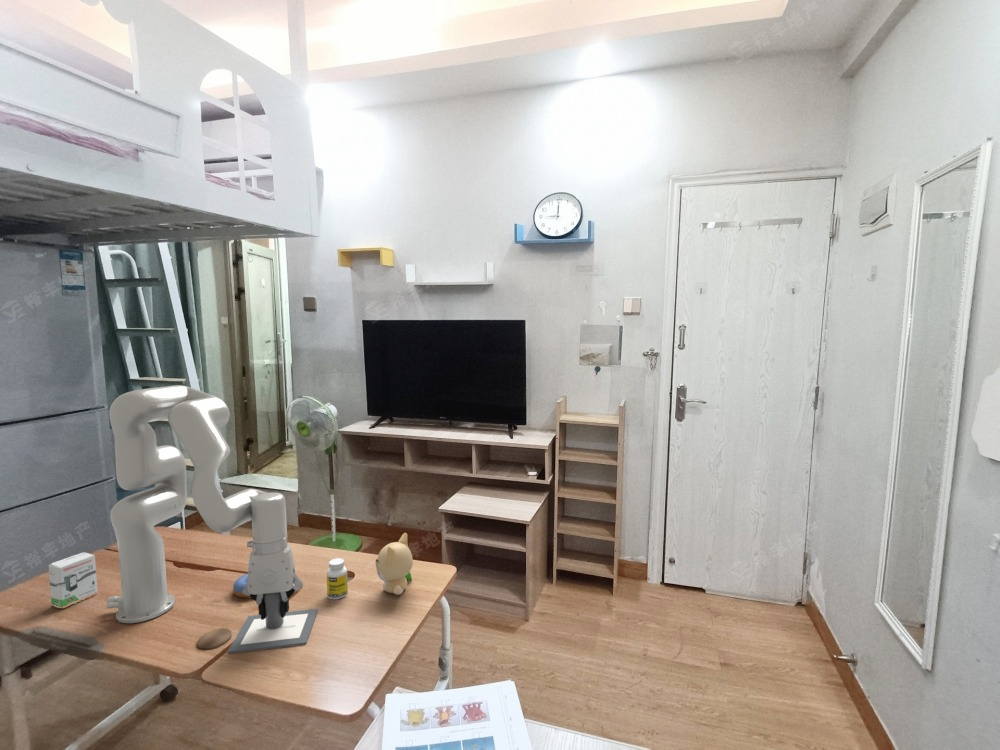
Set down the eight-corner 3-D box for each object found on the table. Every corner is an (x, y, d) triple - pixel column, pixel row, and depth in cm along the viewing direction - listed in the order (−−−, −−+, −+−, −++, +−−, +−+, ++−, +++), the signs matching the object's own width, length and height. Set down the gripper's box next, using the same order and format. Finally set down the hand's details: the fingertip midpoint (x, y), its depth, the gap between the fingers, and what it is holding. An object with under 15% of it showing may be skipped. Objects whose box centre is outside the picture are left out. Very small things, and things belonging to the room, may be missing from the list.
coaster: (192, 650, 111) (192, 648, 111) (205, 632, 118) (204, 630, 118) (225, 647, 112) (224, 644, 112) (235, 629, 119) (235, 626, 119)
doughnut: (261, 576, 144) (259, 562, 143) (280, 588, 139) (278, 573, 138) (227, 594, 136) (225, 580, 135) (245, 607, 131) (243, 592, 130)
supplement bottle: (326, 601, 131) (325, 567, 130) (328, 591, 136) (326, 558, 135) (347, 598, 132) (346, 564, 131) (348, 588, 138) (347, 555, 137)
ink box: (61, 610, 127) (58, 568, 126) (50, 607, 129) (46, 564, 128) (98, 594, 136) (95, 553, 134) (87, 590, 137) (84, 551, 136)
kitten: (393, 574, 146) (391, 526, 144) (423, 578, 143) (422, 529, 142) (366, 600, 131) (364, 547, 130) (399, 606, 129) (398, 552, 127)
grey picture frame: (228, 653, 110) (227, 650, 110) (248, 617, 124) (248, 615, 124) (306, 644, 113) (306, 641, 113) (317, 610, 127) (317, 608, 127)
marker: (263, 629, 117) (261, 586, 116) (268, 619, 121) (266, 577, 120) (281, 627, 118) (279, 584, 117) (285, 617, 122) (283, 576, 121)
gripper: (227, 554, 112) (232, 628, 114) (303, 548, 115) (306, 620, 117) (239, 540, 120) (243, 610, 121) (309, 535, 123) (312, 603, 124)
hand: (274, 614), depth 119 cm, fingers closed on marker, 3 cm apart
